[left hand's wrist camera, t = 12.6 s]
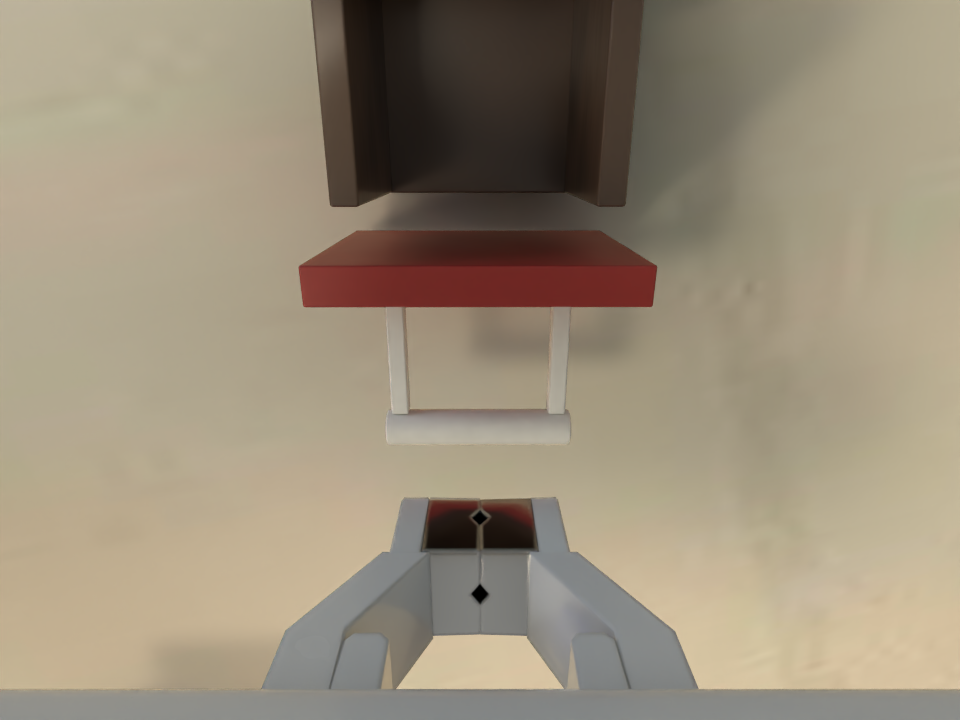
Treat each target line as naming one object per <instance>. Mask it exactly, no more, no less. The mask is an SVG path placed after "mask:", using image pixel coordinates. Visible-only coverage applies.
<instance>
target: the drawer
mask: <svg viewBox="0 0 960 720" xmlns="http://www.w3.org/2000/svg"><path fill="white" fill-rule="evenodd" d="M643 7H644V0H311V8H312V19H313V29H314V40H315V51H316V61H317V72H318V82H319V93H320V104H321V114H322V125H323V136H324V146H325V157H326V168H327V178H328V189H329V200H330V205H331V206H332V207H357V206H360V205H362V204H365V203H367V202H369V201H372V200H374V199H377V198H379V197H381V196H384V195H386V194H389V193H568V194H571V195H573V196H575V197H578V198H580V199H582V200H585V201H587V202H590V203H592V204H594V205H597V206H599V207H623V206H625V204H626V195H627V184H628V173H629V162H630V150H631V139H632V128H633V117H634V106H635V95H636V84H637V73H638V62H639V51H640V40H641V29H642V18H643ZM656 272H657V266H656V265H654V264H653V263H651V262H650V261H648V260H646V259H645V258H643V257H641V256H640V255H638V254H637V253H635V252H633V251H632V250H630V249H629V248H627V247H625V246H624V245H622V244H620V243H619V242H617V241H616V240H614V239H612V238H611V237H609V236H608V235H606V234H604V233H603V232H601V231H356V232H354V233H352V234H351V235H349V236H347V237H346V238H344V239H343V240H341V241H339V242H338V243H336V244H334V245H333V246H331V247H330V248H328V249H326V250H325V251H323V252H321V253H320V254H318V255H316V256H315V257H313V258H312V259H310V260H308V261H307V262H305V263H303V264H302V265H300V266H299V274H300V283H301V291H302V300H303V306H304V307H385V314H386V330H387V345H388V361H389V377H390V393H391V408H392V409H390V410H388V412H387V416H386V440H387V443H388V444H389V445H568V444H569V442H570V439H571V418H570V413H569V411H568V410H567V409H565V402H566V386H567V369H568V352H569V336H570V319H571V307H652V305H653V299H654V290H655V281H656ZM405 307H551V319H550V340H549V362H548V383H547V404H546V407H547V409H410V391H409V371H408V351H407V331H406V311H405Z"/></svg>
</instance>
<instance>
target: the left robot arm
mask: <svg viewBox="0 0 960 720" xmlns="http://www.w3.org/2000/svg"><path fill="white" fill-rule="evenodd" d="M474 634H485V635H520V636H527V639H528V640H529V641H530V643H531V644H532V645H533V647H534V648H535V649H536V651H537V652H538V654H539V655H540V656H541V658H542V659H543V660H544V662H545V663H546V664H547V666H548V667H549V669H550V670H551V671H552V673H553V674H554V675H555V677H556V678H557V680H558V681H559V682H560V684H561V685H562V686H563V688H564V689H396V688H397V687H398V685H399V684H400V683H401V681H402V680H403V679H404V677H405V676H406V674H407V673H408V672H409V670H410V669H411V668H412V666H413V665H414V664H415V662H416V661H417V660H418V658H419V657H420V655H421V654H422V653H423V651H424V650H425V649H426V647H427V646H428V645H429V643H430V642H431V640H432V639H433V636H440V635H474ZM0 720H960V689H698V686H697V684H696V681H695V679H694V676H693V674H692V672H691V669H690V667H689V664H688V662H687V659H686V657H685V655H684V652H683V650H682V647H681V645H680V642H679V640H678V637H677V635H676V633H675V631H674V630H673V629H671V628H670V627H669V626H668V625H667V624H665V623H664V622H663V621H662V620H660V619H659V618H658V617H657V616H655V615H654V614H653V613H652V612H651V611H649V610H648V609H647V608H646V607H644V606H643V605H642V604H641V603H640V602H638V601H637V600H636V599H635V598H633V597H632V596H631V595H630V594H628V593H627V592H626V591H625V590H624V589H622V588H621V587H620V586H619V585H617V584H616V583H615V582H614V581H613V580H611V579H610V578H609V577H608V576H606V575H605V574H604V573H603V572H601V571H600V570H599V569H598V568H597V567H595V566H594V565H593V564H592V563H590V562H589V561H588V560H587V559H585V558H584V557H583V556H582V555H581V554H579V553H578V552H570V549H569V545H568V541H567V537H566V532H565V528H564V524H563V519H562V515H561V511H560V507H559V502H558V499H557V498H556V497H545V498H530V499H473V498H430V499H429V498H428V497H422V498H404V499H403V500H402V502H401V506H400V510H399V515H398V519H397V523H396V528H395V532H394V536H393V541H392V545H391V549H390V552H382V553H381V554H379V555H378V556H377V557H376V558H375V559H373V560H372V561H371V562H370V563H368V564H367V565H366V566H365V567H363V568H362V569H361V570H360V571H358V572H357V573H356V574H355V575H354V576H352V577H351V578H350V579H349V580H347V581H346V582H345V583H344V584H342V585H341V586H340V587H339V588H337V589H336V590H335V591H334V592H333V593H331V594H330V595H329V596H328V597H326V598H325V599H324V600H323V601H321V602H320V603H319V604H318V605H317V606H315V607H314V608H313V609H312V610H310V611H309V612H308V613H307V614H305V615H304V616H303V617H302V618H300V619H299V620H298V621H297V622H296V623H294V624H293V625H292V626H291V627H289V628H288V629H287V630H286V631H285V633H284V636H283V638H282V640H281V643H280V645H279V648H278V650H277V652H276V655H275V657H274V660H273V662H272V664H271V667H270V669H269V672H268V674H267V676H266V679H265V681H264V684H263V686H262V688H261V689H0Z"/></svg>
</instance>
